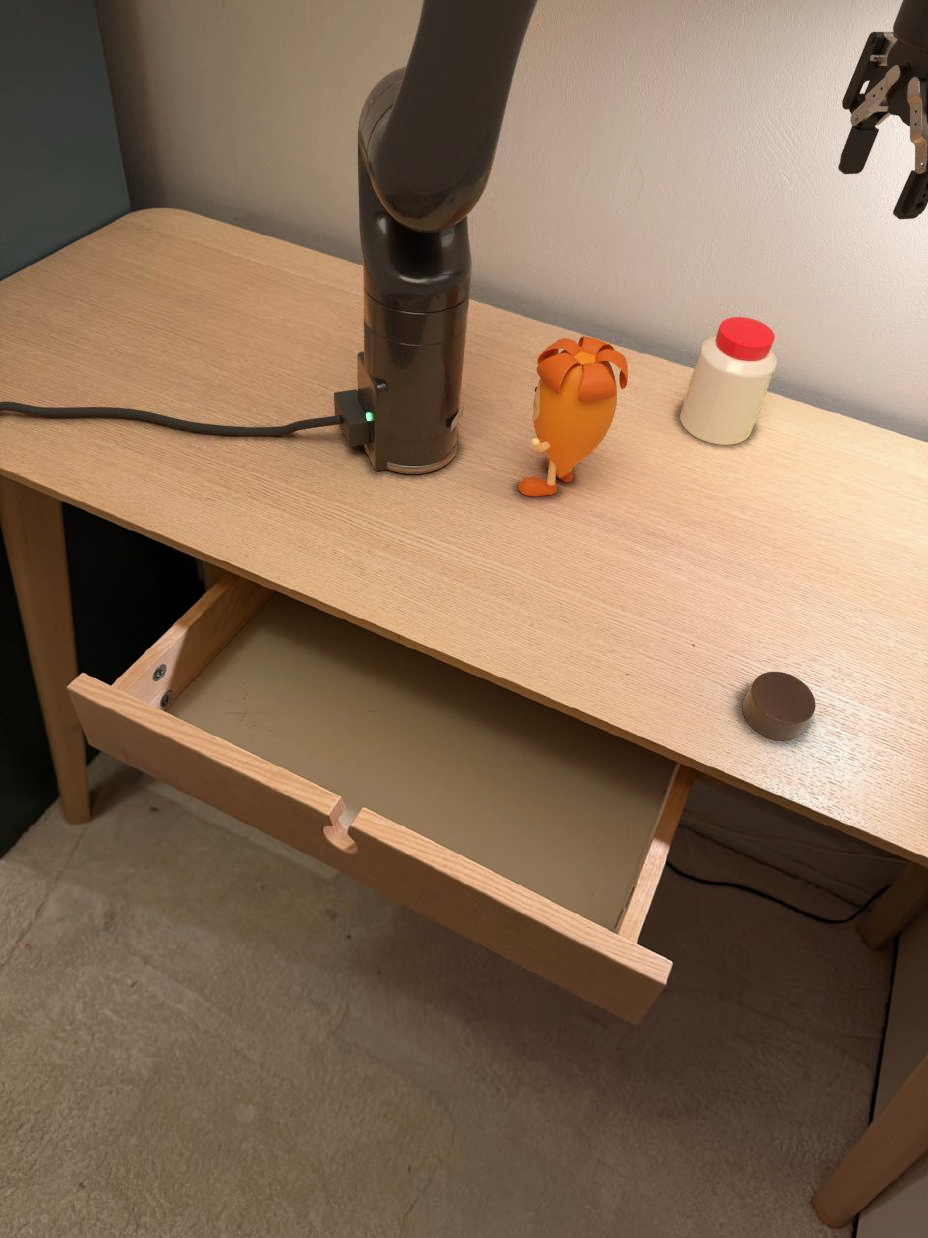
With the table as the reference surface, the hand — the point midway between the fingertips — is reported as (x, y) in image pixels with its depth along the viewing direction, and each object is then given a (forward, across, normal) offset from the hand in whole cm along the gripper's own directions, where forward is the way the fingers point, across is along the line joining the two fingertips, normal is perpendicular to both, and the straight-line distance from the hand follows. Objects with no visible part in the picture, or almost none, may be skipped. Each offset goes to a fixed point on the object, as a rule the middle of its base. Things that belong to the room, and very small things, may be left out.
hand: (875, 193), depth 78 cm
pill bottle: (+26, -3, -6) cm, 26 cm away
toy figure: (+26, +4, -26) cm, 37 cm away
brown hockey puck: (+26, +33, -19) cm, 46 cm away
